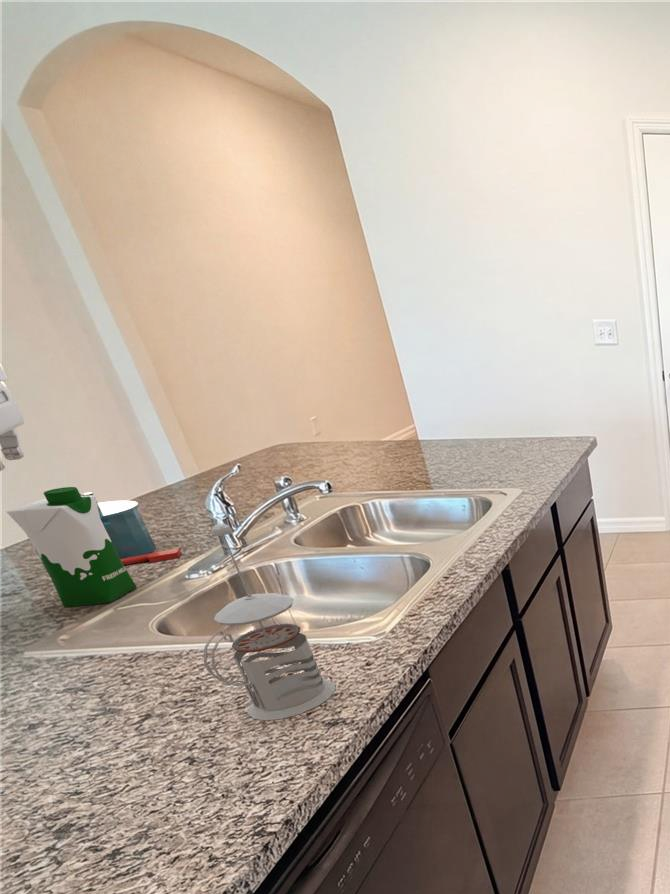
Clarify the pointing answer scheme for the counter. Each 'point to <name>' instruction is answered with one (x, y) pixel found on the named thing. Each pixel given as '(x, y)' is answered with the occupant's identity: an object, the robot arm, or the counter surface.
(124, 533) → the pot
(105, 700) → the counter surface
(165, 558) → the red long bar
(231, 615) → the french press
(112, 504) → the white round shallow piece
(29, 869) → the counter surface
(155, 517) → the counter surface
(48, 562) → the milk carton
